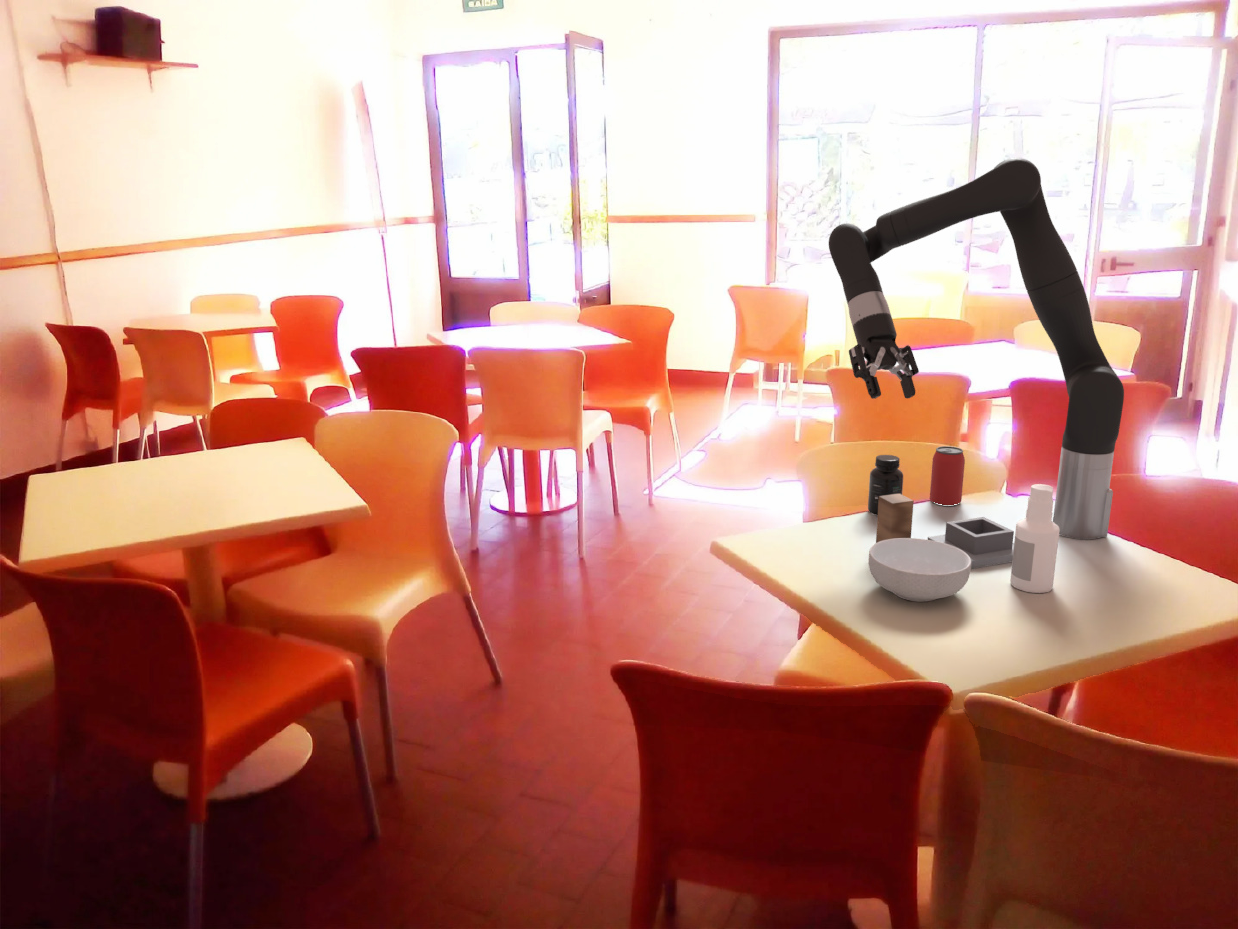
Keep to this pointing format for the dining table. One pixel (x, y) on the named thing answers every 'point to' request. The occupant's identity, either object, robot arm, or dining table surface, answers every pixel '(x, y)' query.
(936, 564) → the cereal bowl
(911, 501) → the walnut peg
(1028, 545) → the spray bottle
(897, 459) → the supplement bottle
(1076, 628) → the dining table surface
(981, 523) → the socket pad
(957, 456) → the beer can
